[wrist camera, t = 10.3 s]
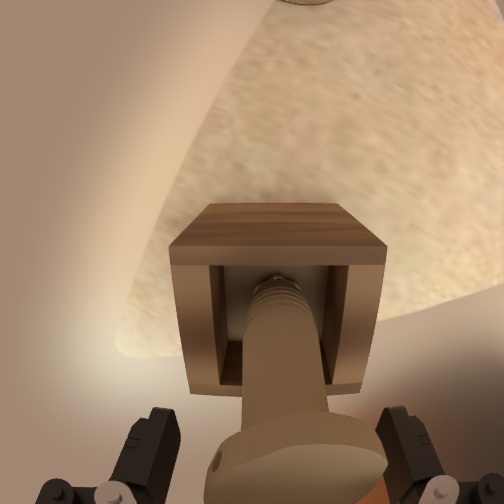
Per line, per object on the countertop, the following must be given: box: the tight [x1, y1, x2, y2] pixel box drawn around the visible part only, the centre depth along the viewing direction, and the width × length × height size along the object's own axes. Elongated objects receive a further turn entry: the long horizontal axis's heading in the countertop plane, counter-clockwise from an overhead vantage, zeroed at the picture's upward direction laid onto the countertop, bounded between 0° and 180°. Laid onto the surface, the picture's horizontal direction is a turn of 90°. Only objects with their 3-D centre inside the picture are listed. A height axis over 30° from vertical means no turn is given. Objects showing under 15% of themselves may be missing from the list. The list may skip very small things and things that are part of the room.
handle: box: [204, 273, 388, 504], centre depth 14 cm, size 5×6×15 cm
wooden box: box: [169, 203, 387, 397], centre depth 22 cm, size 10×11×12 cm
